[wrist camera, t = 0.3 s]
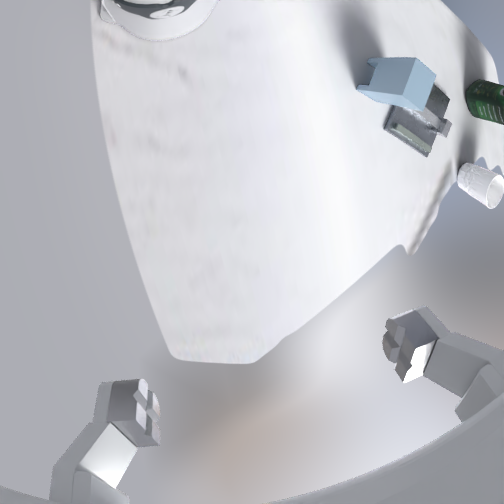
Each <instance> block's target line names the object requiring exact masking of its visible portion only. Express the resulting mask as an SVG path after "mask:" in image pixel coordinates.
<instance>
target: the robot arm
mask: <svg viewBox="0 0 504 504" xmlns="http://www.w3.org/2000/svg"><path fill="white" fill-rule="evenodd" d="M218 1H220V0H102V1H101V10H100V17H101V19H102V20H103V21H105V22H108V23H112V24H117V25H120V26H121V27H123V28H124V29H125V30H126V31H128V32H129V33H131V34H132V35H134V36H136V37H139V38H142V39H146V40H153V41H162V40H170V39H174V38H178V37H181V36H183V35H186V34H188V33H190V32H191V31H193V30H195V29H196V28H197V27H199V26H200V25H201V24H202V23H203V22H204V21H205V20H206V19H207V18H208V17H209V15H210V14H211V12H212V10H213V9H214V7H215V5H216V4H217V3H218ZM385 327H386V328H387V330H388V331H387V332H386V333H385V335H384V336H383V350H384V352H385V355H386V357H387V358H388V360H389V361H391V362H394V363H396V364H395V371H396V372H397V374H398V375H399V376H400V378H401V380H402V381H403V383H404V382H407V381H409V380H411V379H414V378H416V377H418V376H420V375H422V374H423V376H425V377H426V378H428V379H430V380H431V381H433V382H435V383H437V384H439V385H440V386H442V387H444V388H446V389H447V390H449V391H451V392H452V393H454V394H456V395H458V396H459V397H461V398H462V399H461V400H460V402H459V403H458V405H457V406H456V408H455V412H456V414H457V415H458V417H459V419H460V420H461V422H462V423H461V424H459V425H458V426H456V427H455V428H453V429H452V430H450V431H448V432H447V433H445V434H444V435H442V436H440V437H439V438H437V439H435V440H433V441H432V442H430V443H428V444H427V445H424V446H423V447H421V448H419V449H417V450H415V451H413V452H411V453H409V454H408V455H405V456H403V457H401V458H399V459H398V460H395V461H393V462H391V463H389V464H386V465H384V466H382V467H380V468H377V469H375V470H373V471H370V472H368V473H365V474H363V475H360V476H358V477H355V478H353V479H350V480H347V481H344V482H341V483H339V484H336V485H333V486H330V487H327V488H323V489H320V490H317V491H314V492H310V493H306V494H303V495H299V496H295V497H291V498H287V499H283V500H278V501H274V502H269V503H264V504H504V350H501V349H498V348H496V347H493V346H490V345H487V344H485V343H482V342H480V341H477V340H475V339H472V338H469V337H467V336H464V335H461V334H459V333H456V332H452V333H450V331H449V330H448V329H447V328H446V327H445V326H444V324H443V323H442V322H441V321H440V320H439V319H438V318H437V317H436V315H435V314H434V313H433V312H432V311H431V310H430V309H429V308H428V307H427V306H425V305H422V306H420V307H417V308H415V309H412V310H409V311H407V312H404V313H402V314H399V315H396V316H394V317H391V318H389V319H388V320H387V322H386V326H385ZM159 418H160V408H159V403H158V400H157V398H156V396H155V394H154V393H153V392H151V391H149V390H148V384H147V383H146V381H145V380H144V379H135V380H123V381H112V382H102V383H101V384H100V385H99V389H98V394H97V400H96V405H95V411H94V417H93V423H89V424H88V425H87V426H86V427H85V428H84V430H83V431H82V432H81V433H80V434H79V436H78V437H77V438H76V439H75V441H74V442H73V443H72V444H71V445H70V447H69V448H68V449H67V450H66V452H65V453H64V454H63V456H61V458H60V459H59V460H58V461H57V463H56V464H55V465H54V466H53V471H52V479H51V487H50V497H49V500H46V499H42V498H38V497H34V496H31V495H27V494H23V493H21V492H18V491H14V490H11V489H8V488H6V487H3V486H0V504H129V497H128V496H127V495H126V494H124V493H122V492H121V491H119V490H117V489H115V488H116V486H117V484H118V483H119V481H120V479H121V477H122V475H123V474H124V472H125V470H126V468H127V466H128V465H129V463H130V461H131V460H132V458H133V456H134V454H135V453H136V451H137V449H138V448H137V447H147V446H159V445H160V428H159V427H158V426H157V425H156V422H157V421H158V420H159Z"/></svg>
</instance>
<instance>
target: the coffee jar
mask: <svg viewBox="0 0 504 504" xmlns="http://www.w3.org/2000/svg"><path fill="white" fill-rule="evenodd" d="M466 100H467V105H468V108H469V110H470V112H471V114H472V115H473V116H474V117H477V118H480V119H484V120H488V121H492V122H496V123H499V124H503V125H504V86H503V85H500V84H496V83H493V82H489V81H485V80H477V81H475V82H474V83H473V84H472V85H471V86H470V87H469V88H468V89H467V92H466Z"/></svg>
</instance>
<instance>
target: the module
mask: <svg viewBox="0 0 504 504" xmlns="http://www.w3.org/2000/svg"><path fill="white" fill-rule="evenodd" d="M367 63H368V64H370V65H371V66H373V67H374V68H376V69H375V72H374V74H373V77H372V79H371V82H370V84H369V86H368V85H358V87H357V89H356V90H358V91H359V92H361V93H363V94H364V95H366V96H368V97H369V98H371V99H372V100H374V101H376V102H380V103H385V104H390V105H395V106H400V107H405V108H409V109H414V110H418V111H422V112H423V110H424V108H425V105H426V103H427V100H428V97H429V95H430V92H431V89H432V86H433V83H434V81H435V78H436V74H435V73H433V72H432V71H431V70H430V69H429V68H428V67H427V66H426V65H424V64H423V63H422V62H421V61H420V60H419V59H417V58H408V57H395V58H369V60H368V62H367Z"/></svg>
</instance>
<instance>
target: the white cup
mask: <svg viewBox="0 0 504 504" xmlns="http://www.w3.org/2000/svg"><path fill="white" fill-rule="evenodd" d="M457 182H458V186H459V187H460V188H461V189H463V190H464V191H466V192H467V193H468V194H469V195H471V196H472V197H474V198H475V199H477V200H478V201H480V202H481V203H483V204H484V205H486V206H487V207H488V208H490V209H492V208H494V207H496V206H497V204H498V203H499V202H500V199H501V197H502V195H503V191H504V179H503V177H502V176H501V175H499V174H497V173H494V172H492V171H490V170H488V169H485V168H483V167H480V166H477V165H474V164H471V163H465V164H463V165H462V166H461V168H460V169H459V173H458V177H457Z"/></svg>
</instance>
